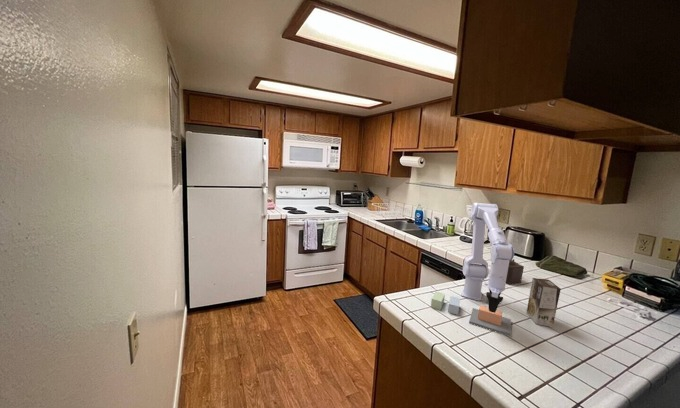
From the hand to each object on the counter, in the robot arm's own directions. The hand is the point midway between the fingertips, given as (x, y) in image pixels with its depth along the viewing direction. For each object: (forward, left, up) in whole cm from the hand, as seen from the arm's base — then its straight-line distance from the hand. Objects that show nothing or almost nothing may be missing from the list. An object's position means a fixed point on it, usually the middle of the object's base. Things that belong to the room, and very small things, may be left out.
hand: (492, 307), depth 110 cm
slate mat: (0, 0, -6) cm, 6 cm away
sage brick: (-1, -20, -7) cm, 21 cm away
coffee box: (-15, +17, -7) cm, 24 cm away
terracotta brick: (0, 0, -6) cm, 6 cm away
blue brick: (-1, -14, -7) cm, 15 cm away
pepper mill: (-55, +3, -7) cm, 55 cm away
